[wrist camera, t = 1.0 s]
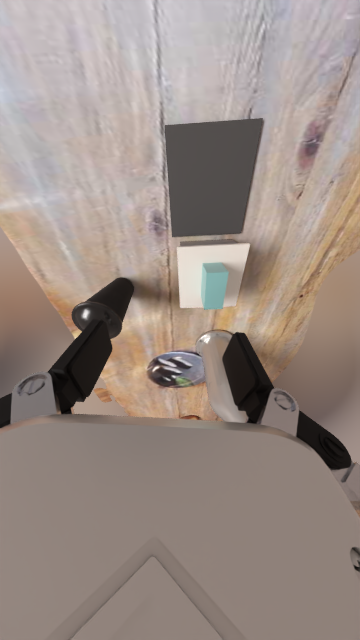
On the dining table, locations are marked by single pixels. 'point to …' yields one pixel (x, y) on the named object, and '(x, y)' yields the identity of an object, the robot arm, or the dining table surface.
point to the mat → (210, 175)
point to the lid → (211, 274)
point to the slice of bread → (190, 417)
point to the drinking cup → (106, 306)
